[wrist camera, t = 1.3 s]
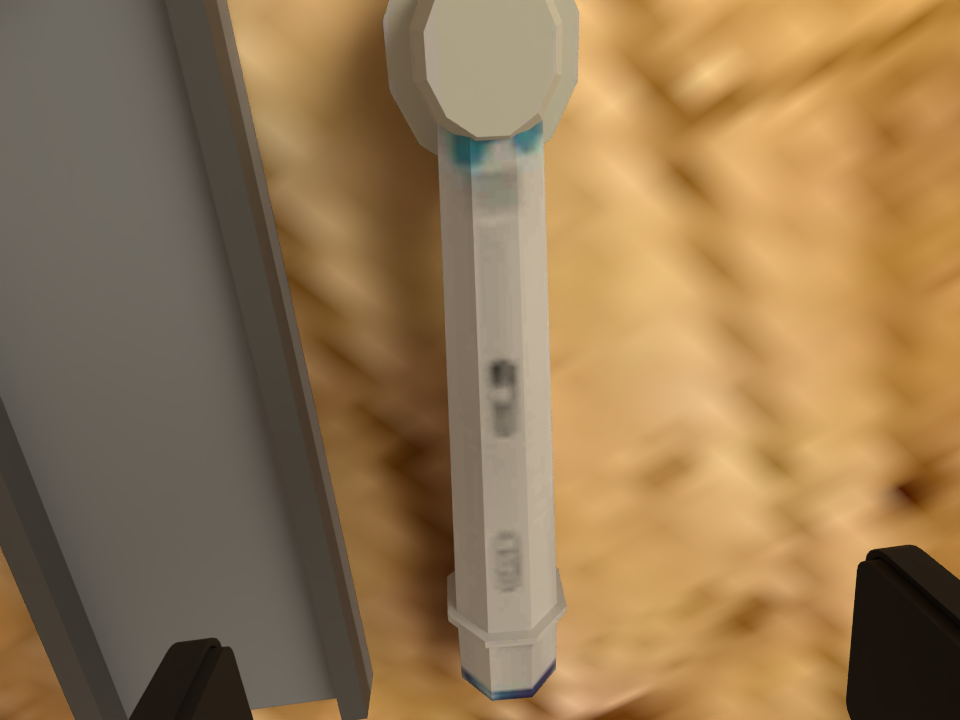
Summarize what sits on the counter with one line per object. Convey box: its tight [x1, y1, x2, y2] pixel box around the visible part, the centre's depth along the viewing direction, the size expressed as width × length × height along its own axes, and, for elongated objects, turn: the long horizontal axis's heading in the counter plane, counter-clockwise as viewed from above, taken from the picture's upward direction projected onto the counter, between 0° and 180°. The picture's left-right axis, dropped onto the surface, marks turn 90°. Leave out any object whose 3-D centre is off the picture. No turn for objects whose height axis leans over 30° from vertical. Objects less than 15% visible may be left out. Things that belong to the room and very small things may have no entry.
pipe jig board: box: [0, 0, 373, 720], centre depth 18 cm, size 36×11×7 cm, turn 7°
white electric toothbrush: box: [383, 0, 579, 701], centre depth 21 cm, size 5×7×25 cm
